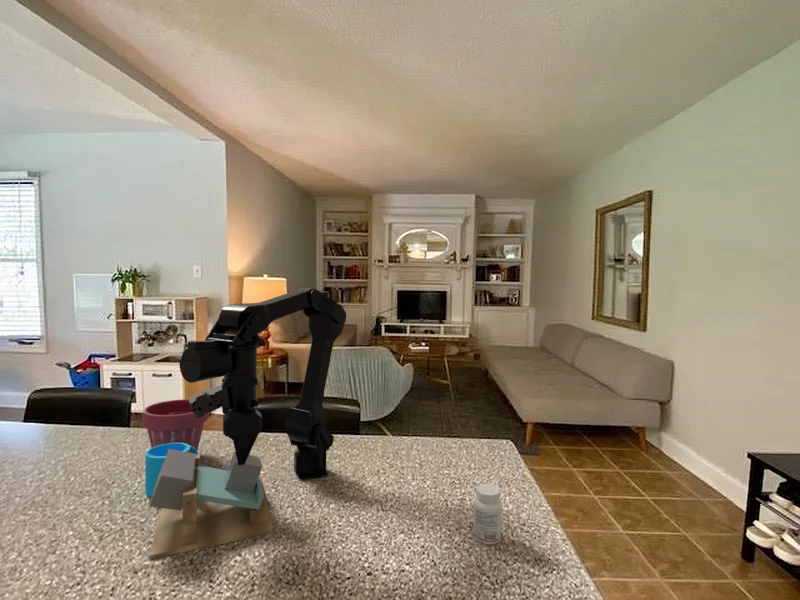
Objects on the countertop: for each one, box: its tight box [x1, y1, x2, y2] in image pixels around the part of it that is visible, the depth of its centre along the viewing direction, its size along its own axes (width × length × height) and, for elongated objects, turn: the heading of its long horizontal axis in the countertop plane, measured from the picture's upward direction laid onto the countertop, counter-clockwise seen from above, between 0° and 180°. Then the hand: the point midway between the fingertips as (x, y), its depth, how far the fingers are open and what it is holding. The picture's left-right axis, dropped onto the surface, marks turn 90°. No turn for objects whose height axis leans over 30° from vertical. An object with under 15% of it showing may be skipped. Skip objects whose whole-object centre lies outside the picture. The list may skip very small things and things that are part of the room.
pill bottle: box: [473, 483, 503, 546], centre depth 72 cm, size 5×5×8 cm
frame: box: [149, 453, 274, 560], centre depth 77 cm, size 18×18×9 cm
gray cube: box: [224, 451, 263, 494], centre depth 78 cm, size 5×5×5 cm
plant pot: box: [142, 398, 209, 453], centre depth 102 cm, size 14×14×13 cm
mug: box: [144, 443, 199, 499], centre depth 89 cm, size 12×8×8 cm
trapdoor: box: [149, 449, 264, 510], centre depth 76 cm, size 17×12×5 cm
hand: (240, 454), depth 78 cm, fingers open, 9 cm apart
